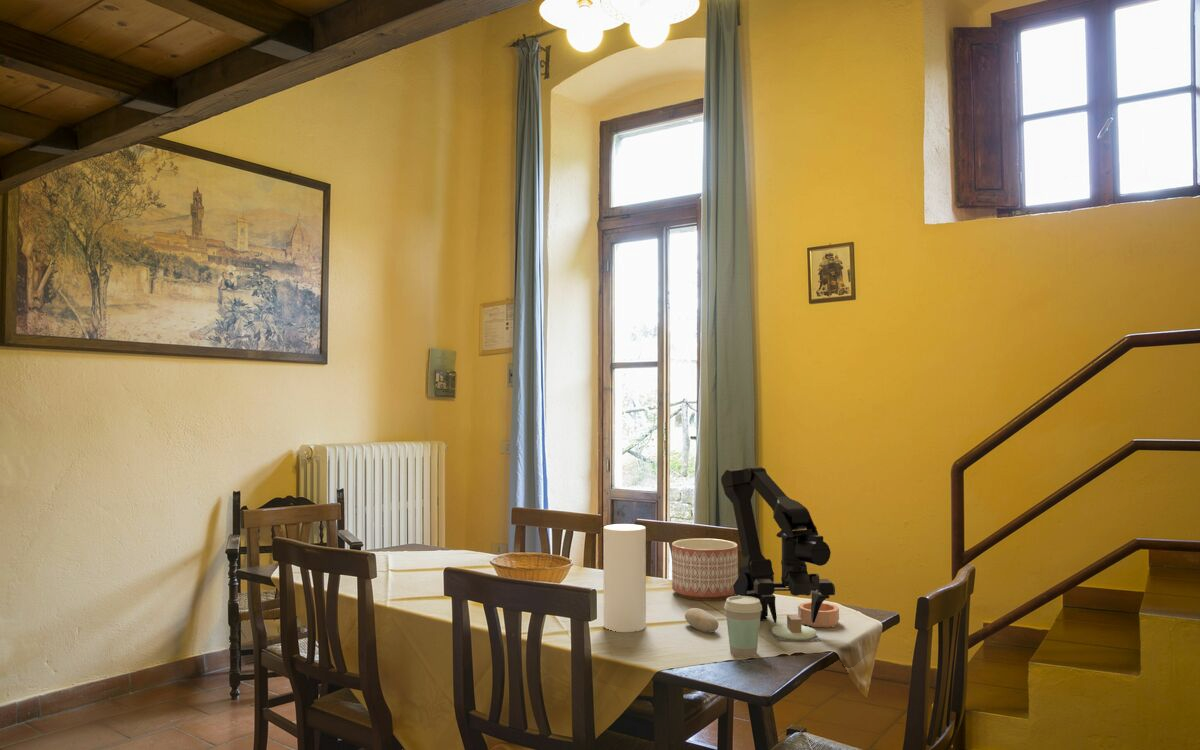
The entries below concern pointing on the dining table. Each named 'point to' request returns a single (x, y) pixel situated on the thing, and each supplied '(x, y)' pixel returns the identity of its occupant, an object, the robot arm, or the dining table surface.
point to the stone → (701, 620)
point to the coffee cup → (743, 624)
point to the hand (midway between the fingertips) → (794, 622)
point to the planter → (704, 568)
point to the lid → (794, 629)
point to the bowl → (819, 615)
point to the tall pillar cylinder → (625, 577)
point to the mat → (794, 640)
